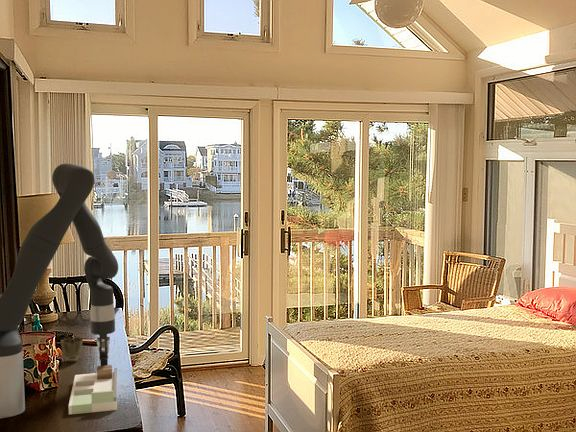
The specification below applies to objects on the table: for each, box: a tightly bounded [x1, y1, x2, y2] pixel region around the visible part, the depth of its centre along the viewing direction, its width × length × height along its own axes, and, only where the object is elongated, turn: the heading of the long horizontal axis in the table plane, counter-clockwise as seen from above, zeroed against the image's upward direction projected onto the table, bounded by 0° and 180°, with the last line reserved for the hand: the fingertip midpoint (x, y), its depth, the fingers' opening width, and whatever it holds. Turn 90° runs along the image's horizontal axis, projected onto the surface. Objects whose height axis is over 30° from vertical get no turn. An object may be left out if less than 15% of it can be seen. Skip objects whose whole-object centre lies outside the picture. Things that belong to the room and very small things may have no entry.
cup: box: [60, 336, 84, 363], centre depth 230 cm, size 8×7×8 cm
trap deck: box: [68, 367, 118, 415], centre depth 195 cm, size 28×13×6 cm, turn 15°
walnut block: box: [96, 364, 113, 380], centre depth 205 cm, size 4×4×3 cm
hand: (104, 370), depth 209 cm, fingers closed
